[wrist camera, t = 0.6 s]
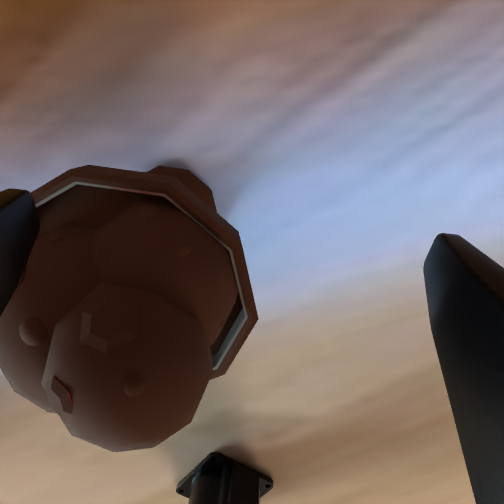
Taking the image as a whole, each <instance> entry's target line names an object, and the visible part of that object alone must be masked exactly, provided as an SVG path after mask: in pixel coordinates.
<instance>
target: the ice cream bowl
mask: <svg viewBox="0 0 504 504" xmlns="http://www.w3.org/2000/svg"><path fill="white" fill-rule="evenodd" d="M31 194H32V196H33V199H34V202H35V206H36V209H37V212H38V216H39V219H40V231H39V234H38V236H37V239H36V241H35V244H34V246H33V249H32V251H31V254H30V256H29V259H28V261H27V264H26V266H25V269H24V271H23V273H22V276H21V278H20V281H19V283H18V285H17V287H16V289H15V291H14V293H13V295H12V297H11V299H10V300H9V302H8V304H7V306H6V308H5V310H4V311H3V313H2V315H1V317H0V369H1V370H2V372H3V374H4V375H5V377H6V378H7V380H8V382H9V383H10V385H11V387H12V388H13V390H14V391H15V392H16V393H18V394H19V395H21V396H23V397H24V398H26V399H27V400H29V401H31V402H32V403H34V404H35V405H37V406H39V407H40V408H42V409H44V410H45V411H47V412H51V413H57V414H58V415H59V416H60V418H61V419H62V421H63V423H64V424H65V426H66V427H67V429H68V430H69V432H70V433H71V435H72V436H75V437H77V438H80V439H82V440H85V441H87V442H90V443H92V444H95V445H97V446H100V447H102V448H104V449H107V450H109V451H112V452H121V451H129V450H137V449H146V448H152V447H155V446H157V445H158V444H160V443H161V442H163V441H164V440H166V439H167V438H169V437H170V436H171V435H173V434H174V433H176V432H177V431H179V430H180V429H182V428H183V427H185V426H186V425H188V424H189V423H191V421H192V418H193V416H194V414H195V412H196V410H197V407H198V405H199V403H200V400H201V398H202V396H203V393H204V391H205V389H206V386H207V384H208V382H209V380H211V379H214V378H216V377H219V376H222V375H224V374H225V373H226V371H227V370H228V368H229V366H230V365H231V363H232V362H233V360H234V358H235V357H236V355H237V353H238V352H239V350H240V348H241V347H242V345H243V344H244V342H245V340H246V339H247V337H248V335H249V334H250V332H251V330H252V329H253V327H254V325H255V324H256V322H257V321H258V315H257V310H256V306H255V302H254V297H253V293H252V288H251V284H250V279H249V275H248V270H247V266H246V261H245V257H244V252H243V248H242V243H241V240H240V236H239V232H238V231H237V230H236V229H235V228H234V227H233V226H231V225H230V224H229V223H228V222H227V221H226V220H224V219H223V218H222V217H221V216H220V215H219V214H217V211H216V207H215V203H214V199H213V195H212V191H211V189H210V188H209V187H207V186H206V185H205V184H204V183H203V182H202V181H201V180H199V179H198V178H197V177H196V176H195V175H194V174H193V173H192V172H190V171H189V170H185V169H178V168H171V167H164V166H157V167H156V168H154V169H152V170H150V171H148V172H147V173H144V172H137V171H129V170H122V169H115V168H108V167H101V166H94V165H86V166H82V167H78V168H74V169H70V170H68V171H66V172H65V173H63V174H61V175H60V176H58V177H56V178H55V179H53V180H51V181H50V182H48V183H46V184H45V185H43V186H41V187H39V188H38V189H36V190H34V191H33V192H31Z"/></svg>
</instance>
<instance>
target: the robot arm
mask: <svg viewBox="0 0 504 504" xmlns="http://www.w3.org/2000/svg"><path fill="white" fill-rule="evenodd" d="M39 231H40V219H39V216H38V212H37V209H36V206H35V202H34V199H33V196H32V194H31V193H30V192H29V191H27V190H21V189H6V190H4V191H1V192H0V317H1V315H2V313H3V311H4V310H5V308H6V306H7V304H8V302H9V300H10V299H11V297H12V295H13V293H14V291H15V289H16V287H17V285H18V283H19V281H20V278H21V276H22V273H23V271H24V269H25V266H26V264H27V261H28V259H29V256H30V254H31V251H32V249H33V246H34V244H35V241H36V239H37V236H38V234H39ZM423 271H424V279H425V287H426V295H427V302H428V310H429V318H430V324H431V330H432V334H433V339H434V343H435V347H436V350H437V354H438V358H439V362H440V366H441V370H442V374H443V377H444V381H445V385H446V389H447V393H448V397H449V401H450V405H451V408H452V412H453V416H454V420H455V424H456V428H457V432H458V435H459V439H460V443H461V447H462V451H463V455H464V459H465V463H466V466H467V470H468V474H469V478H470V482H471V486H472V490H473V493H474V497H475V501H476V504H504V268H503V267H502V266H500V265H499V264H497V263H496V262H495V261H493V260H492V259H491V258H489V257H488V256H487V255H485V254H484V253H483V252H481V251H480V250H478V249H477V248H476V247H474V246H473V245H472V244H470V243H469V242H468V241H466V240H465V239H463V238H462V237H461V236H459V235H456V234H446V233H441V234H439V235H437V236H436V238H435V240H434V242H433V244H432V246H431V248H430V251H429V253H428V255H427V257H426V259H425V262H424V268H423ZM272 488H273V480H272V479H271V478H269V477H267V476H265V475H263V474H261V473H259V472H257V471H254V470H252V469H250V468H248V467H246V466H244V465H242V464H240V463H238V462H236V461H234V460H232V459H230V458H228V457H226V456H224V455H222V454H220V453H218V452H212V453H210V454H209V455H208V456H207V457H206V458H205V459H204V460H203V461H202V462H201V463H200V464H199V465H198V466H197V467H195V468H194V469H193V470H192V471H191V472H190V473H189V474H188V475H187V476H186V477H185V478H184V479H183V480H182V481H181V482H180V483H179V484H178V485H177V487H176V492H177V493H178V494H180V495H183V496H185V497H187V498H189V504H259V499H260V498H261V497H262V496H263V495H264V494H266V493H267V492H268V491H269V490H271V489H272Z"/></svg>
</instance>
